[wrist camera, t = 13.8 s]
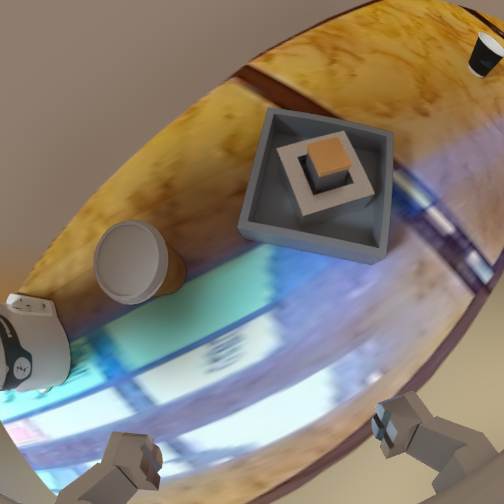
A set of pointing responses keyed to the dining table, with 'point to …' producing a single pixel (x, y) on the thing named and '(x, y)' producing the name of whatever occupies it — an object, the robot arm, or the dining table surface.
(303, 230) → the walled box
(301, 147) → the inlet socket
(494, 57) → the dixie cup
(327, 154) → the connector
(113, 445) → the robot arm
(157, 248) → the disposable coffee cup
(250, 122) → the dining table surface
